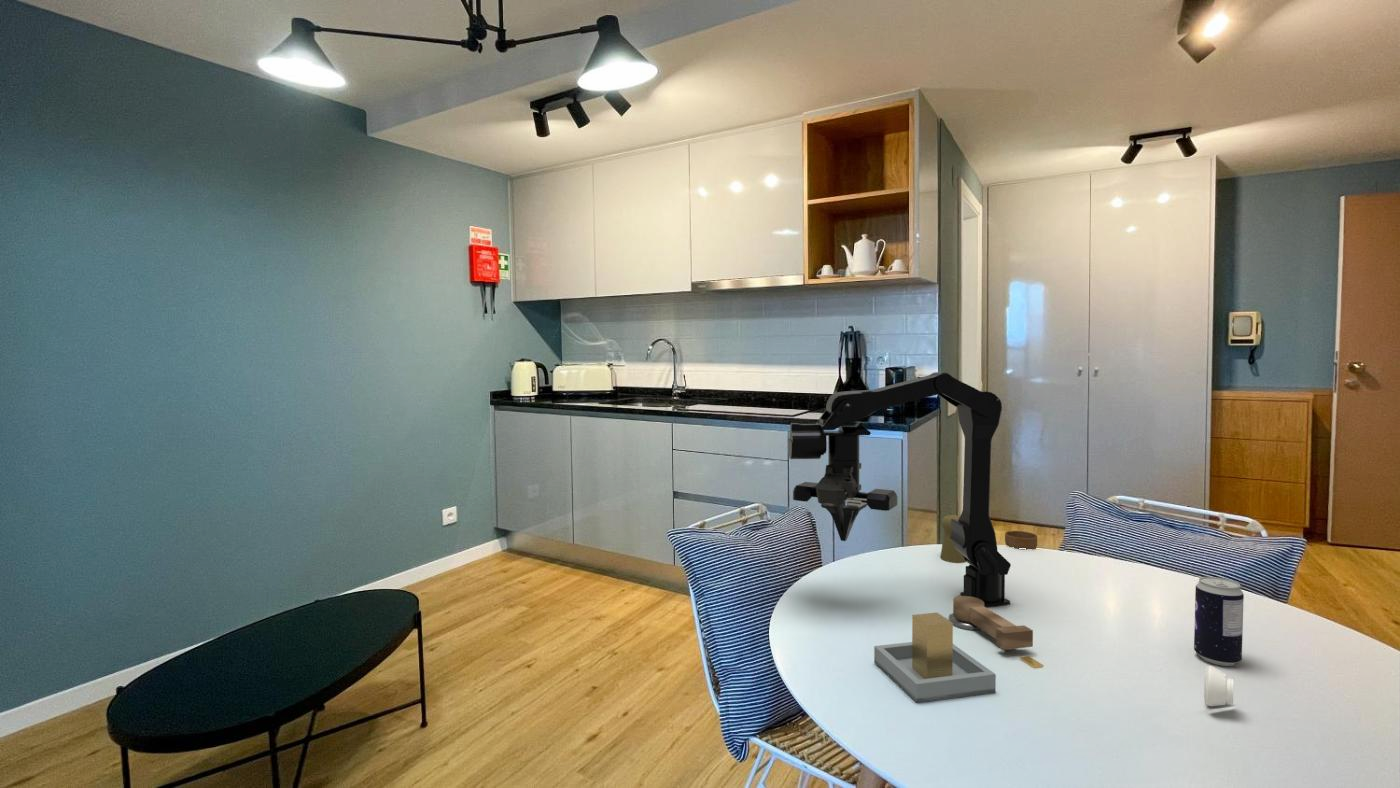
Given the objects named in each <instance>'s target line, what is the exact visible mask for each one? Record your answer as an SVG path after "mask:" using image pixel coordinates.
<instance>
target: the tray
mask: <svg viewBox="0 0 1400 788" xmlns="http://www.w3.org/2000/svg"><path fill="white" fill-rule="evenodd" d="M873 650H874V653H873V658H874V659H873V660H874V662H873V663H874V664H875V665H876V667H878V668H879V669H880V670H881V671H882V672H883V673H884V674H885V675H887V677H888V678H889V679H891V681H892V682H894V683H895V684H896V685H897V686H898V687H899V688H900V689H901V690H903V692H904V693H905V694H906V695H908V696H909V698H910V699H912V701H914V702H915V704H920V703H921V704H922V703H927V702H935V701H944V700H950V699H957V698H965V697H973V696H980V695H986V694H987V695H989V694H996V683H997V682H996V677H997V675H996V673H995V672H993V671H992V670H990V669H989V668H988V667H986V666H985V665H983V664H982V663H981V662H980V661H978V660H976V659H975V658H974V657H972V656H971V655H969V654H968V653H966V652H965V651H964V650H962V649H961V648H960V647H958V646H957V645H955V644H954V643H953V667H952V676H946V677H937V678H929V679H924V678H923V677H922V676H921V675H919V674H918V673H917V672H916V671H915V670H914V669H913V668H912V641H908V642H900V643H891V644H881V645H874V647H873Z"/></svg>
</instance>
